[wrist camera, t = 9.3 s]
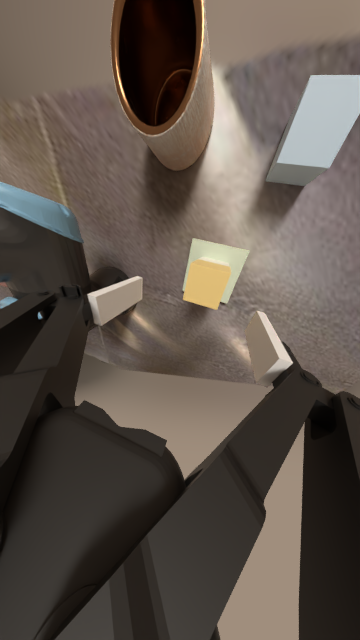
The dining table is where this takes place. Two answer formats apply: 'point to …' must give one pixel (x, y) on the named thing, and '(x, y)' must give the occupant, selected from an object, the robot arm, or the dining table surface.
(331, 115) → the blue brick
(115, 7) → the planter
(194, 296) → the ochre brick
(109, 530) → the robot arm
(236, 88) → the dining table surface
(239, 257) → the baseplate
